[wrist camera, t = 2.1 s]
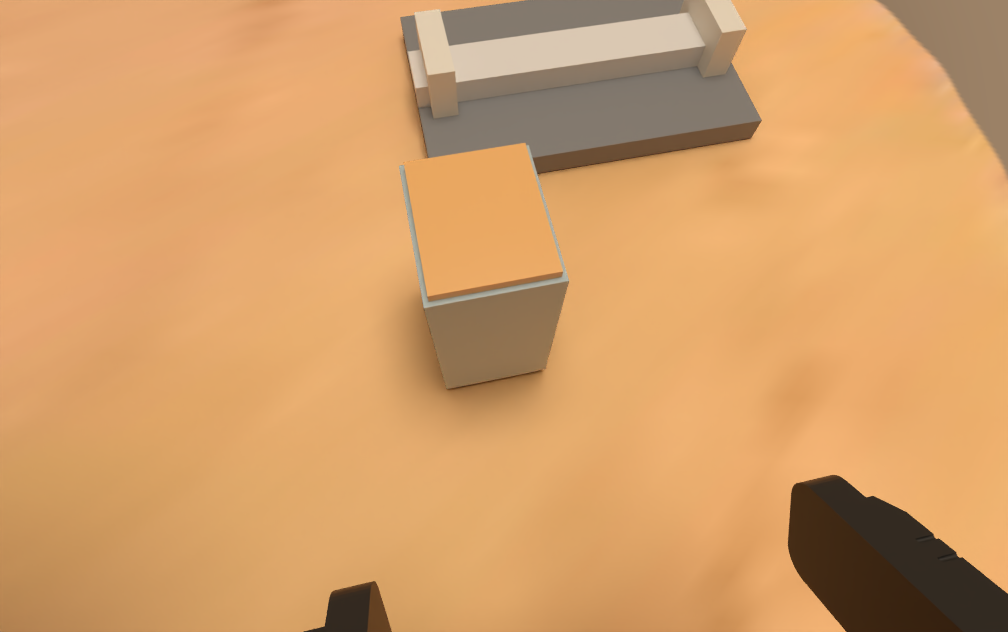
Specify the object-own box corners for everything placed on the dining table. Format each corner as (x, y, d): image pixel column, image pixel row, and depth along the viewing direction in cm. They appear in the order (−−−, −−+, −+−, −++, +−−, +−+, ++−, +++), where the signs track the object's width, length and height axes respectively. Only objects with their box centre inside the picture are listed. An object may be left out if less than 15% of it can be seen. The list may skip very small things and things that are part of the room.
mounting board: (434, 190, 32) (425, 134, 28) (403, 37, 37) (392, -31, 33) (751, 137, 34) (787, 77, 30) (680, -1, 39) (703, -70, 35)
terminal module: (447, 391, 27) (422, 303, 18) (428, 286, 30) (397, 158, 20) (544, 372, 28) (570, 275, 18) (518, 270, 30) (529, 137, 21)
